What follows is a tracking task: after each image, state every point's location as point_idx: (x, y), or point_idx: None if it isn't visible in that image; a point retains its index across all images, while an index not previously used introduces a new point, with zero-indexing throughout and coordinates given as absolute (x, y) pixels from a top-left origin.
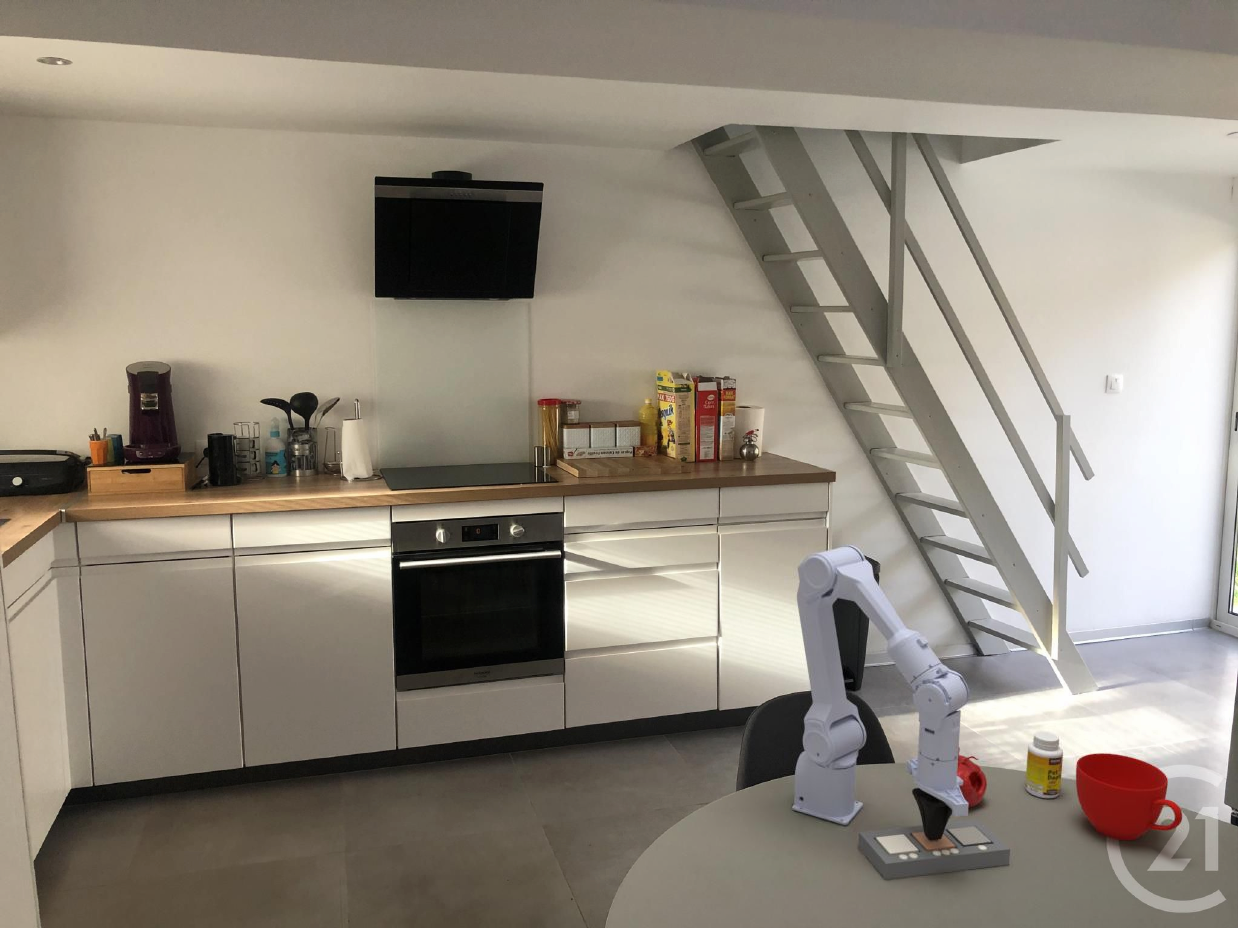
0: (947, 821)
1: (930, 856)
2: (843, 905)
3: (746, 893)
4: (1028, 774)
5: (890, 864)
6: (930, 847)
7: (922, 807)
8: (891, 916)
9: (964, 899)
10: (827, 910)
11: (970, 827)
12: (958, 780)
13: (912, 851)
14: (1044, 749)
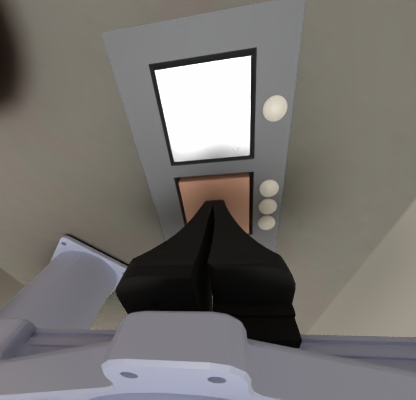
0: (236, 222)
1: (271, 235)
2: (298, 312)
3: None
4: None
5: None
6: (244, 225)
7: (211, 298)
8: (339, 287)
9: (356, 197)
10: (300, 323)
11: (163, 90)
12: (218, 383)
13: None
14: None
